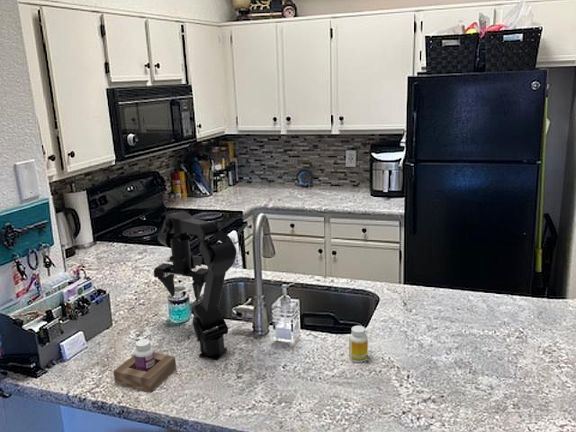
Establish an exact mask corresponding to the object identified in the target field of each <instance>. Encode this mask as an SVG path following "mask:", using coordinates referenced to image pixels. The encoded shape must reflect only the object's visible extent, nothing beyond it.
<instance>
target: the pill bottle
mask: <svg viewBox="0 0 576 432" xmlns="http://www.w3.org/2000/svg"><path fill="white" fill-rule="evenodd" d="M154 353H155V350H154V347H152V344H151V340H150V339H147V338H143V339H138V341H136V342H135V350H134V352H133V355H134V357H135V365H136V369H137V370H141V371H146V372H147V371H149V370H150V369H151V368H152V367H153V366H154V365H155V357H154Z"/></svg>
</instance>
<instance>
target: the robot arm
mask: <svg viewBox="0 0 576 432" xmlns="http://www.w3.org/2000/svg"><path fill="white" fill-rule="evenodd" d="M190 235H193V236H196V237H197V236H198V239H199V252H200V254H201V255H202V256H196V255H194V253H193V252H191V247H190V241H192V237H191V236H190ZM209 237H214V238H215V239H216V240H218V241H219V242H220V243H215V244H212V245H209V246H207V245H206V243H205V238H209ZM157 241H158V242H159V243H160V244H162V245H163V246H165V247H167V248H169V249H170V251H171V256H169V261H172V263H166V262H165V263H164V262H163V263H161V264H159V265H158V266H156V267H155V268H154V269H153V276H154V278H157V280H159V281H160V282H161V283H162V284H163V285H164V287H165V289H166V290H167V291H168V293H169V294H170V296H171V297H174V296H175V295H176V294H175V293H176V292H175V291H176V289H175V280H174V278H175V276H182V277H189V278H192V281H193V282H192V283H191V284H192V288H193V294H194V297H195V300H196V301H198V300H200V296H201V294H202V289H203V286H204V291H203V298H202V302H201V303H198V304H195V306H194V307H193V313H192V315H193V318H192V321H191V323H192V327H193V331H194V335H195V337H196V341H198V342H199V349H200V354H199V355H198V356H199V358H203V359H209V360H214V361H218V360H220V358H222V357H223V355H224V354H225V353H227V352H228V347H225V339H224V338H225V337H224V336H225V335H227V334H228V333H229V327H228V325H227V322H226V321H225V318H224V317H223V312H222V310H221V309H220V308H219V307H220V302H221V298H222V293H223V287H224V282H225V278H226V274H227V272H228V271H229V270H230V268H232V267H233V266H234V263H235V260H236V257H237V248H236V246H235V243H234V242H233V241H232V239H231V237H230V236H229V234H227V233H225V232H224V231H222V230H221V229H220V228H219V227H218V225H217V223H216V222H214V221H206V220H202V219H198V218H194V217H192V214H190V213H188V212H187V211H183V212H181V211H180V212H177V213H172V214H167V215H166V216H165V219H164V221H163V224H162V227H161V229H160V231H159V232H158V235H157ZM202 257H203V259H202ZM202 261H204V263H205V265H206V267H207V268H206V267H205V268H204V267H202ZM197 267H200V268H198V270H195V269H196V268H197Z"/></svg>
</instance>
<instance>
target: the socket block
mask: <svg viewBox="0 0 576 432" xmlns="http://www.w3.org/2000/svg"><path fill="white" fill-rule="evenodd" d="M154 357H155V365H154V366H153V367H152V368H151V369H150V370H149V371H147V372H146V371H141V370H137V369H136V365H135V357H134V354H133V355H132V356H131V357H129V358H128V359H127V360H126V361H124V362H123V363H121V365H119V366H118V367H117V368H115V369H114V370H113V371H112V373H113V377H114V378H113V379H114V385H119V386H124V387H127V388H132V389H136V390H138V391H139V390H141V391H144V392H149V393H152V392H153V391H154V390H155V389H156V388H157V387H158V386H159V385H161V383H163V382H164V381H165V380H166V379H167V378H168V377H169V376H170V375H171V374H173V373H174V372H175V371H176V370H177V365H176V356H173V355H169V354H163V353H158V352H154Z"/></svg>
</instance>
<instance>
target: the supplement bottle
mask: <svg viewBox="0 0 576 432" xmlns="http://www.w3.org/2000/svg"><path fill="white" fill-rule="evenodd" d="M366 332H367V331H366V327H365V326H362V325H354V326H352V327H351V333H350V334H349V337H348V357H349V360H350V359H351V360H350V361H352V362H354V361H355V362H354V363H364V362H365V360H366V361H367V360H368V346H369V345H368V343H369V342H368V341H369V340H368V339H369V338H368V335H367V334H366ZM363 361H364V362H363Z"/></svg>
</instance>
